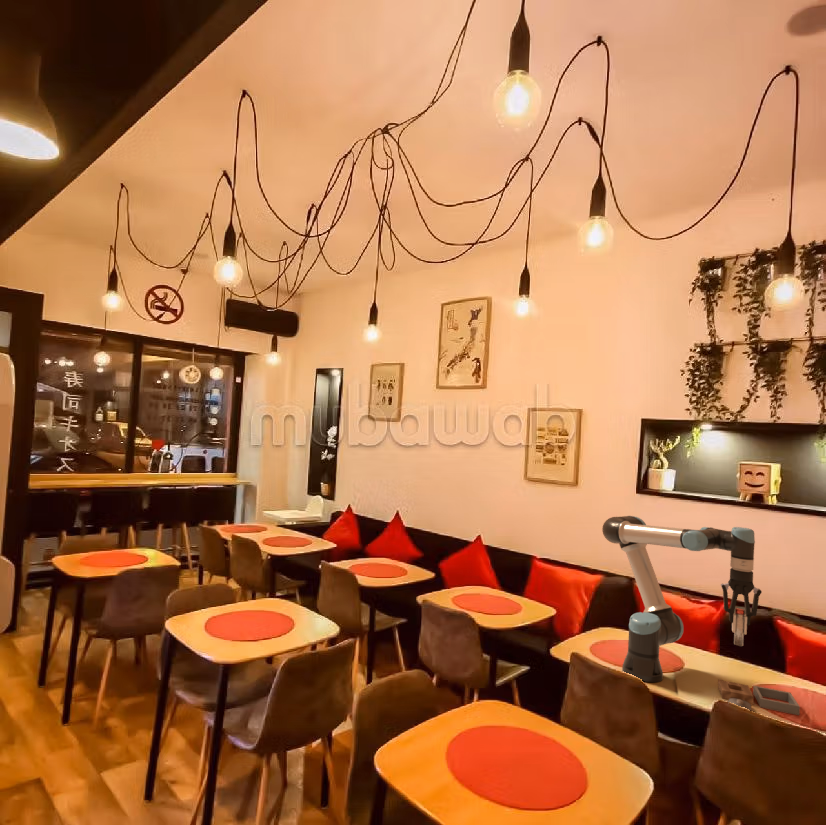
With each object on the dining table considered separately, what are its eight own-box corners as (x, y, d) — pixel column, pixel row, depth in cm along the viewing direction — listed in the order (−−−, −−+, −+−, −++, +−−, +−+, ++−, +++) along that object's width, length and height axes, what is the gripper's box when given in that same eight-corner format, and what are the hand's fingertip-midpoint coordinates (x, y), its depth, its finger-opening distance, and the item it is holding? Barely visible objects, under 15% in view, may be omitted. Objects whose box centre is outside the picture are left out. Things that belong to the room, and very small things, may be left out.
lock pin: (734, 645, 210) (736, 609, 210) (733, 642, 212) (734, 607, 213) (743, 646, 208) (745, 611, 209) (742, 644, 211) (743, 609, 212)
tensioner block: (725, 710, 200) (725, 699, 200) (717, 690, 216) (718, 679, 217) (757, 717, 196) (758, 705, 196) (747, 696, 213) (748, 685, 213)
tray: (759, 709, 202) (760, 698, 202) (753, 696, 213) (753, 685, 213) (799, 718, 198) (799, 706, 198) (790, 703, 209) (790, 692, 209)
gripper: (719, 568, 211) (716, 631, 210) (768, 574, 205) (766, 639, 204) (716, 564, 218) (713, 625, 217) (764, 570, 212) (761, 633, 211)
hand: (739, 632), depth 211 cm, fingers closed on lock pin, 3 cm apart
